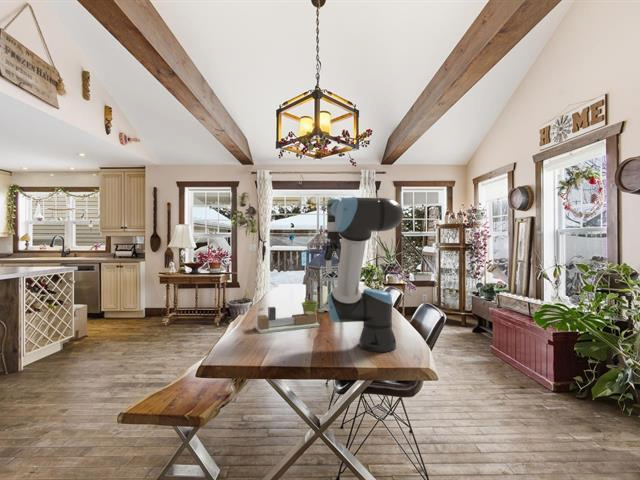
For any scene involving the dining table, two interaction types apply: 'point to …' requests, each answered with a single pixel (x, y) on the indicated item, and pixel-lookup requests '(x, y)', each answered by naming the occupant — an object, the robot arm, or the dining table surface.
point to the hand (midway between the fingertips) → (334, 274)
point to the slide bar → (278, 321)
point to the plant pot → (309, 306)
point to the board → (300, 322)
